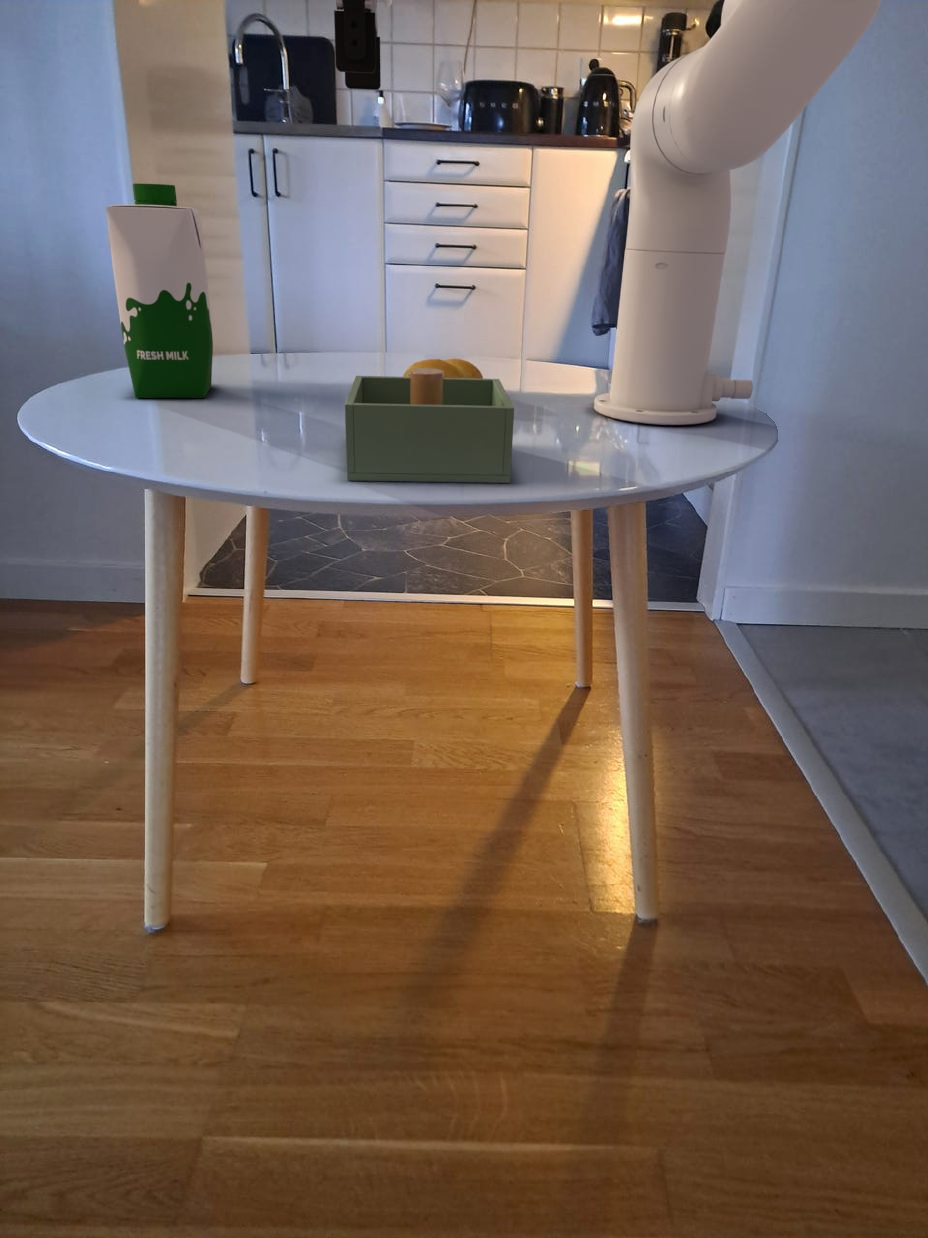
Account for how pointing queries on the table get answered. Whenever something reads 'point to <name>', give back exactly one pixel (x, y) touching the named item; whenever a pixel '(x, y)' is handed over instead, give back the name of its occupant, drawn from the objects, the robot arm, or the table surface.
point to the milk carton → (162, 293)
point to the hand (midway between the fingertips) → (359, 80)
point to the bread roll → (448, 368)
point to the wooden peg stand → (426, 386)
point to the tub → (428, 432)
